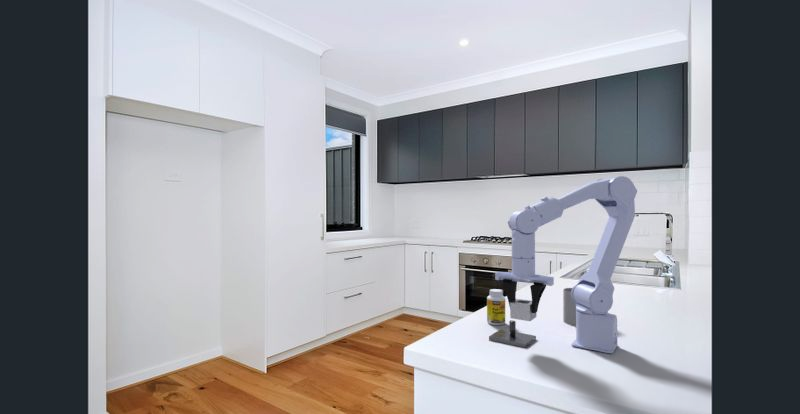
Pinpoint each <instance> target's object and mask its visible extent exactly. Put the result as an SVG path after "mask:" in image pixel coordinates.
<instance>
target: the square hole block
mask: <svg viewBox="0 0 800 414" xmlns="http://www.w3.org/2000/svg"><path fill="white" fill-rule="evenodd" d="M509 309H510V310H509V311H510V316H509V318H510V319H514V320H519V321H525V322H532V321H533V320H534V319H536V318H537V312H536V313H532V300H530V299H521V298H516V300H514V301H512V302H510V306H509Z"/></svg>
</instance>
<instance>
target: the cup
mask: <svg viewBox="0 0 800 414" xmlns="http://www.w3.org/2000/svg"><path fill="white" fill-rule="evenodd" d="M572 288H573V287H566V288H563V295H562V296H563V298H562V300H563V303H562V304H563V306H562V307H563V309H562V310H563V313H562V314H563V323H564V324H566V325H569V326H575V327H576V303H575V302H574V301H573V299H572V297H571V291H572Z"/></svg>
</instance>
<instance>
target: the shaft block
mask: <svg viewBox="0 0 800 414" xmlns="http://www.w3.org/2000/svg"><path fill="white" fill-rule="evenodd" d="M508 326H509V327H508V328H509V330H507V329H502V328H500V329H498V331H497V330H496V331H495V332H493V333H492V334H490V335H489V336H488V340H489V341H491V342H496V343H502V344H505V345H506V344H507V345H511V346H515V347H520V348H525V349H526V348H527V347H529V346H530V345H532V343H534V342H535V341H536V340H537V335H534V334H528V333H523V332H519V331H516V329H517V328H516V320H509V325H508Z"/></svg>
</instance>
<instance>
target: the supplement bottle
mask: <svg viewBox="0 0 800 414" xmlns="http://www.w3.org/2000/svg"><path fill="white" fill-rule="evenodd" d="M503 294H504V290H503V289H499V288H498V289H496V288H493V289H489V295H488V296H486V322H487V323H488V324H489V325H492V326H503V325H504V324H506V297H505V296H504V295H503Z"/></svg>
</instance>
